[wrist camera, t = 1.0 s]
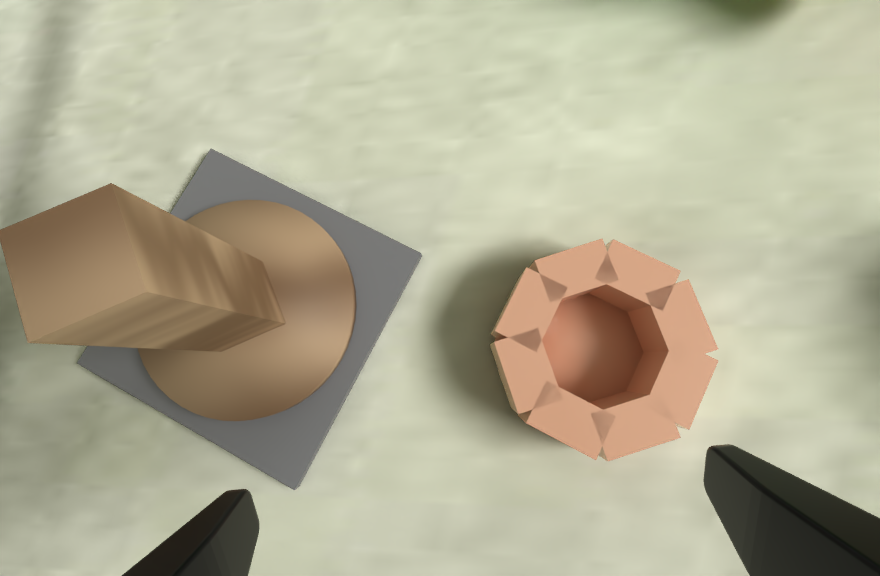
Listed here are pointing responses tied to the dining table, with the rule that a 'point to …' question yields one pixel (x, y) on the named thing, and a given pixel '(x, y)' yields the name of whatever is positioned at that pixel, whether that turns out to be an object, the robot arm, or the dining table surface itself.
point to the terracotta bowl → (604, 349)
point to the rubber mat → (306, 424)
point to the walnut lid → (190, 295)
